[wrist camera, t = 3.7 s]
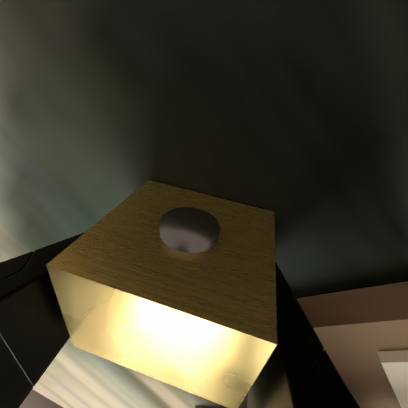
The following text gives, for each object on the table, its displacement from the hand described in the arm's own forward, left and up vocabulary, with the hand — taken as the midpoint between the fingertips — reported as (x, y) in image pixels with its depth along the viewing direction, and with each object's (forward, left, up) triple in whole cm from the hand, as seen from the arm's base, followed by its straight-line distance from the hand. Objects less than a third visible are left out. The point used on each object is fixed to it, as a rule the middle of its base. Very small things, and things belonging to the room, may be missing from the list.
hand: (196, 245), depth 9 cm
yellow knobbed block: (0, 0, -1) cm, 1 cm away
